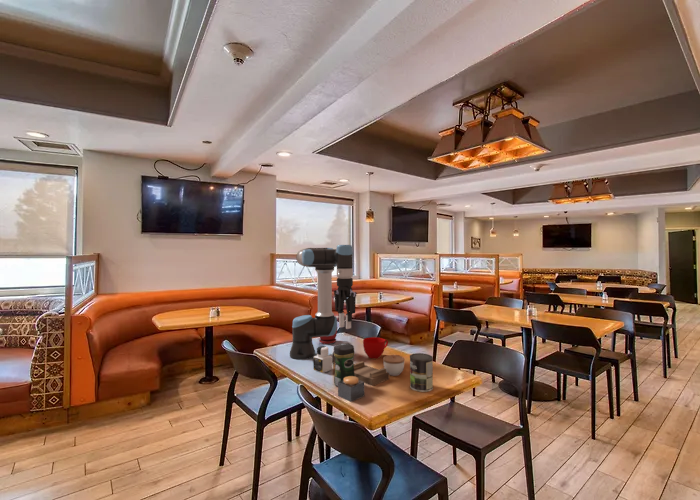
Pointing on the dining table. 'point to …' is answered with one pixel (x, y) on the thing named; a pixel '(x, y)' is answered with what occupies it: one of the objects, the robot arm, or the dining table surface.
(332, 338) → the plant pot
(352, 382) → the release button
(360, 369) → the cradle rack
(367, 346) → the ceramic cup
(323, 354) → the medicine bottle
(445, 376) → the dining table surface
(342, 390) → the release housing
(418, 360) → the coffee can
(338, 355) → the coffee jar
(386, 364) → the lidded jar
